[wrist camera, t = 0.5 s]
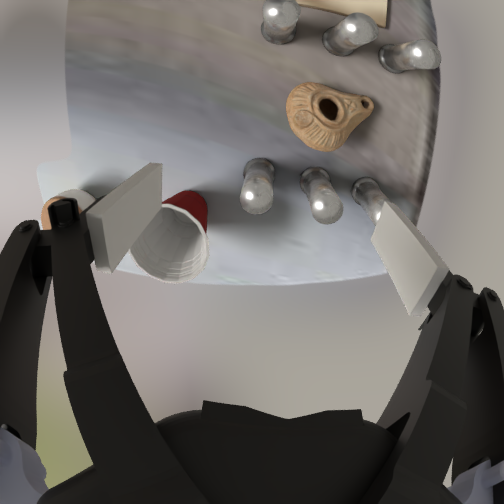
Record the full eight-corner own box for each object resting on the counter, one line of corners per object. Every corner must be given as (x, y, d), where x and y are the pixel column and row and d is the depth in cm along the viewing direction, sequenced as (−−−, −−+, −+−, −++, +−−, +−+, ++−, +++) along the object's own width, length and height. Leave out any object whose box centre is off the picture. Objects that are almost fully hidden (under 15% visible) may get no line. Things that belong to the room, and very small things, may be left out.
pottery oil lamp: (374, 136, 33) (394, 146, 27) (292, 147, 35) (297, 160, 29) (364, 76, 28) (384, 75, 23) (278, 87, 31) (280, 86, 25)
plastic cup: (229, 179, 38) (214, 216, 28) (218, 242, 44) (204, 291, 34) (159, 167, 38) (122, 199, 28) (156, 229, 44) (126, 273, 34)
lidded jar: (94, 171, 38) (60, 193, 30) (120, 225, 44) (94, 255, 36) (57, 192, 40) (26, 215, 32) (82, 239, 46) (56, 267, 38)
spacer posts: (263, 14, 25) (261, -11, 16) (407, 51, 25) (445, 46, 17) (242, 185, 39) (234, 215, 30) (373, 206, 39) (397, 239, 31)
